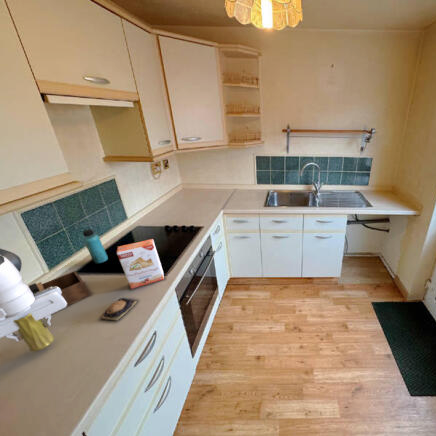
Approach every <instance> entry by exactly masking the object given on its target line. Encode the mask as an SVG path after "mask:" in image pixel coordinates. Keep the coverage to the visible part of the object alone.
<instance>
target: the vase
mask: <svg viewBox="0 0 436 436" xmlns="http://www.w3.org/2000/svg"><path fill="white" fill-rule="evenodd" d="M13 321H14V322H15V323H17V325H18V327H19V330H17V332H18V334H19V333H20V335H21V336H22V338H23V339H22V340H23V341H24V343H25V344H26V345H27V347H28V349H29V351H30V352H37V351H38V352H39V351H41V350H43V349H45V348H46V347H48V346H50V345H51V344H52V343H53V342H54V340H55V336H54V335H53V334H52V332H51V331H50V330H49V329H48V327H45V326H44V324H43V321H42V319H40V320H38V321H36V320H35V319H34V317H33V316H32V314H31V313H30V314H29V315H27V316H26V317H24V318H21V319H19V320H13Z"/></svg>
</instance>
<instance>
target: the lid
mask: <svg viewBox="0 0 436 436" xmlns="http://www.w3.org/2000/svg"><path fill="white" fill-rule="evenodd" d="M42 284H43V283H42V282H41V281H40V282H37V283H36V282H35V283H32V284H30V285H28V287H29V288H30V290H31V291H32V293H33V294H34V293H36V292H39V291H41V290H44V287H43V285H42Z"/></svg>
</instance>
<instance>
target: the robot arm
mask: <svg viewBox="0 0 436 436" xmlns="http://www.w3.org/2000/svg"><path fill="white" fill-rule="evenodd" d="M22 264H23V263H22V260H21V258H20V256H19V255H17V254H16V253H14V252H12V251H10V250H6V249H4V248H1V247H0V339H2V338H4V337H5V338H6V339H12V340H15V341H16V343H17V342H20V341H22V340H24V339H23V338H22V336H21V335H20V333H19V332H18V330H19V327H18V325H17V323H15V322H14V321H13V320H19V319H21V318H24V317H26V316H27V315H29V314H30V313H31V314H32V316H33V317H34V319H35V320H36V321H38V320H42V319H44V318H45V320H43V321H42V322H43V324H44V326H45V327H46V328H48V327H50V326H52V323H51V319H52V315H53V314H55V313H57V312H59V311H61V310H63V309H65V308H66V306H67V302H66V300H65V299H64V297H63V296H62V295H61V294H62V290H61V289H60V287H48V288H47V289H44V290H41V291H39V292H36V293H34V294H33V293H32V291H31V290H30V288H29V285H28V284H27V283H25V282H24V281H23V276H22V274H21V270H22ZM67 307H68V306H67ZM15 332H18V333H15Z"/></svg>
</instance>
